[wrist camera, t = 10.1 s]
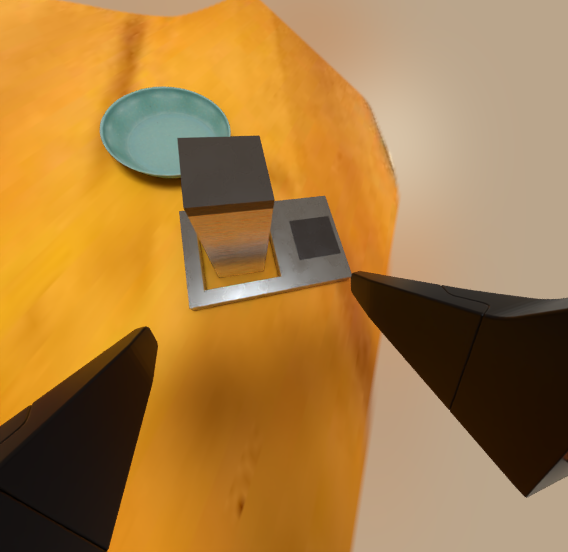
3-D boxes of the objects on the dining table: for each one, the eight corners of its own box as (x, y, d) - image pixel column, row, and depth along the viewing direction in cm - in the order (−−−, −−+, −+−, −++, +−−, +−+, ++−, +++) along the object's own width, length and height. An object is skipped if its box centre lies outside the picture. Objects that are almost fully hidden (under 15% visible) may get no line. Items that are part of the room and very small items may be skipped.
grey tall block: (263, 270, 24) (274, 199, 12) (219, 277, 23) (183, 208, 11) (256, 232, 25) (259, 135, 14) (213, 237, 24) (177, 137, 13)
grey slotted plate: (346, 280, 25) (352, 276, 23) (193, 310, 21) (189, 308, 20) (321, 203, 28) (325, 195, 26) (183, 219, 24) (178, 210, 23)
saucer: (243, 182, 28) (242, 166, 25) (119, 200, 24) (104, 184, 22) (219, 104, 31) (216, 83, 29) (109, 110, 28) (95, 88, 26)
